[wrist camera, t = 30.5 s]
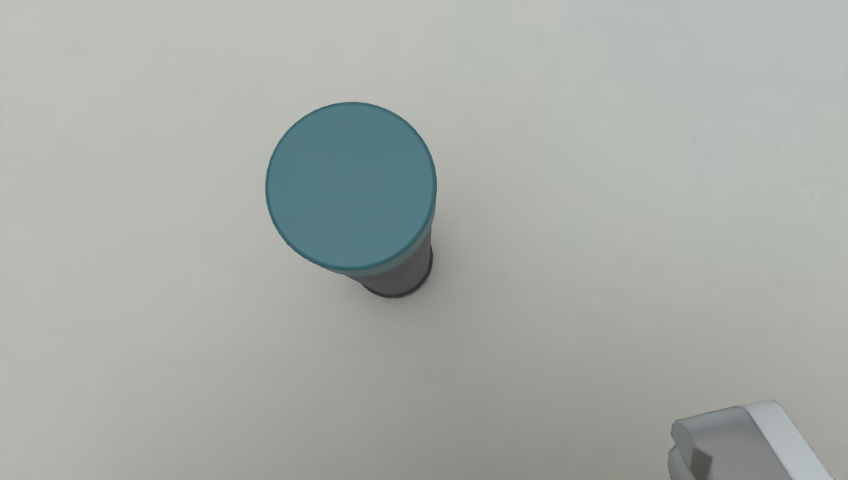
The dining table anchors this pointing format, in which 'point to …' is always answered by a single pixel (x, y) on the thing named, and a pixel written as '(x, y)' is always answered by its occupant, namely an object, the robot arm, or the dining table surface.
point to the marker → (356, 196)
